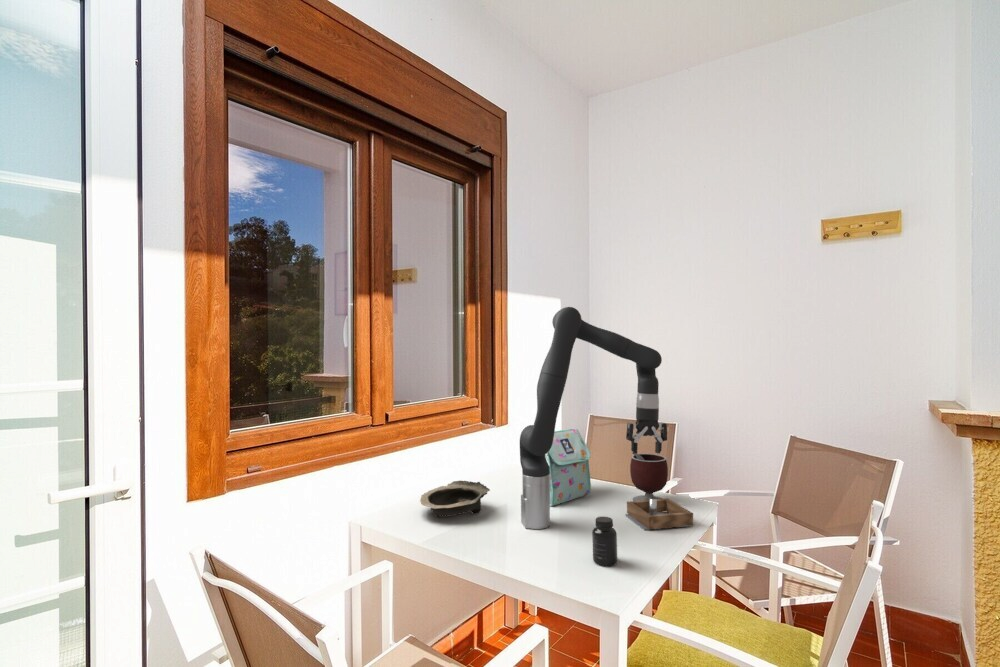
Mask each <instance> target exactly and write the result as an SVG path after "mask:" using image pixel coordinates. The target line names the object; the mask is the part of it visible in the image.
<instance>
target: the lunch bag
mask: <svg viewBox="0 0 1000 667" xmlns="http://www.w3.org/2000/svg"><path fill="white" fill-rule="evenodd" d="M545 457H546V461H547V463H548V465H549V470H550V507H553V506H557V505H560V503H561V504H563V503H567V502H569V501H572V500H575V499H578V498H582V497H585V496H587V495H589V494H590V493H591V490H592V484H591V473H590V464H589V459H590V458H591V451H590V449H589V447H588V445H587V444H586V442H585V440H584V438H583V437H582V435H581V432H580V431H579V429H578V428H565V429H559V430H555V431H554V438H553V444H552V447H551V449H550V450H549V452H548V453H547V454H545Z"/></svg>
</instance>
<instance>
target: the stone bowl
mask: <svg viewBox="0 0 1000 667" xmlns="http://www.w3.org/2000/svg"><path fill="white" fill-rule="evenodd" d="M490 490H491V489H490V488H488V487H487V485H485V484H483V483H481V482H480V481H477V482H474V481H467V480H456V481H455V480H454V481H452V482H450V483H448V484H447V485H441V486H438V487H435V488H433V489H430V490H428V491H427V492H424V493H423V494H421V496H420V498H419V499H420V500H419V502H420V504H421V506H424V507H427V508H430V510H431V511H432V513H433V516H436V517H437V518H439V517H442V518H443V517H449V516H450V517H451V516H457V515H462V514H465V513H469V512H470V513H472V514H473V515H475V514H476V515H478V514H480V513H481V511H482V500H481V499H483V498H484V497H485V496H486V495H487V494H488V492H489V491H490ZM490 492H491V491H490ZM477 513H478V514H477Z"/></svg>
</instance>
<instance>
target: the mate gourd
mask: <svg viewBox="0 0 1000 667" xmlns="http://www.w3.org/2000/svg"><path fill="white" fill-rule="evenodd" d="M629 470H630V471H629V472H630V479H631V482H632V484H633V485H634V486H635V489H637V490H639V491H642V492H644V493H645V494H644V495H636V496H633V498H632V501H643V500H649V498H656V499H664V498H662V497H660V496H656V495H654V493H657V492H661V491H662V490H663V489H664V488H665V486H666V485H667V483H668V476H669V466H668V462H667V457H666V456H664V455H661V454H657V453H637V454H635V453H633V452H632V455H631V459H630V465H629Z"/></svg>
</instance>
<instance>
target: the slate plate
mask: <svg viewBox="0 0 1000 667" xmlns="http://www.w3.org/2000/svg"><path fill="white" fill-rule="evenodd" d="M648 514H649V513H648ZM659 514H666V512H665V511H664V512H657V515H659ZM625 517H626V518H627V517H628V518H627V519H628V520H630V521H631V522H633V523H634V525H637V526H638V527H639V526H640V527H639V528H641V529H642V530H643V529H644V530H643V531H651V530H650V529H648V528H646V527H645V526H644V525H642V524H641V523H640V522H638V521H637V520H636V519H634V518H633V517H632V516H630V515H629V514H628V513H626V514H625ZM658 530H662V529H661V528H659V529H658Z"/></svg>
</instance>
